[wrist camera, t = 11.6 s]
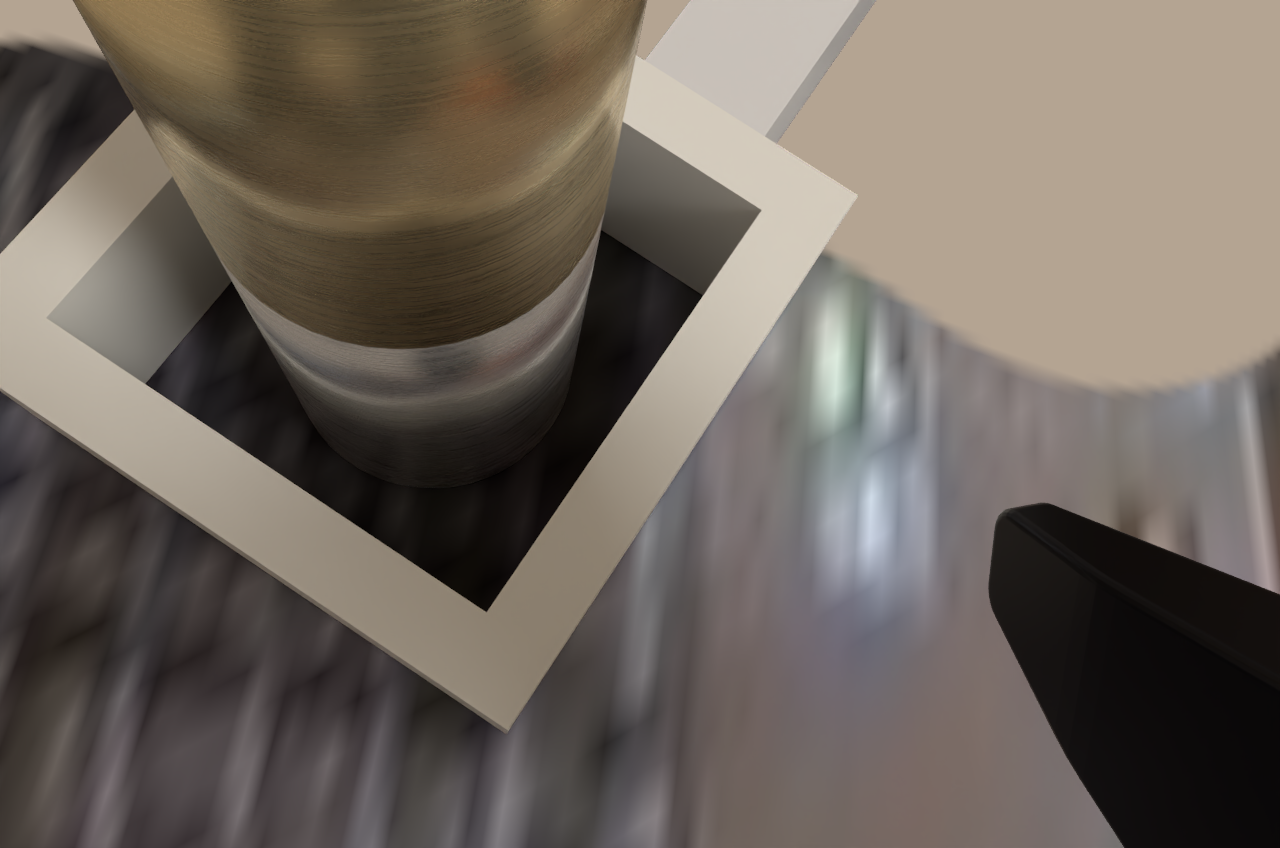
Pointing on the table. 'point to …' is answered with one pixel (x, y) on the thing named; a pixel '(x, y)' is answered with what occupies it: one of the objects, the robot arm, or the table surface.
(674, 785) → the table surface
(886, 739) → the table surface
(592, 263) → the coupler
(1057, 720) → the robot arm
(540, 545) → the socket
